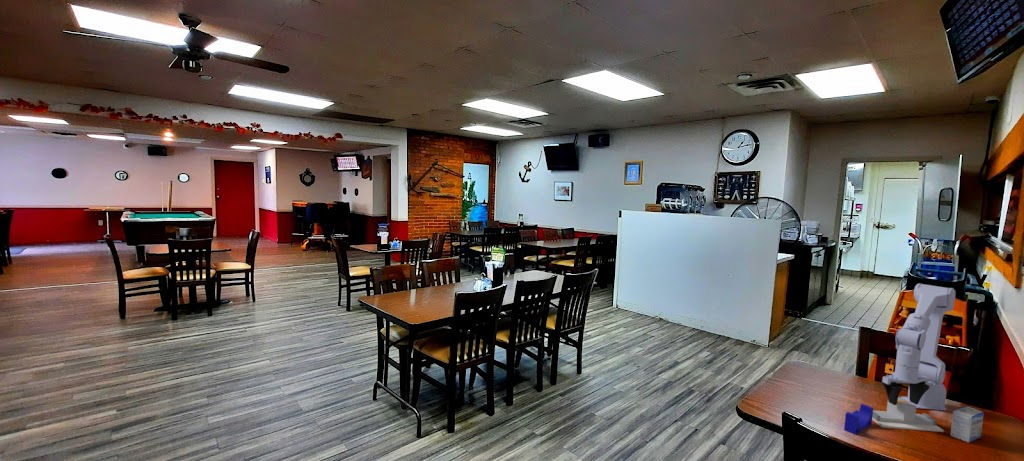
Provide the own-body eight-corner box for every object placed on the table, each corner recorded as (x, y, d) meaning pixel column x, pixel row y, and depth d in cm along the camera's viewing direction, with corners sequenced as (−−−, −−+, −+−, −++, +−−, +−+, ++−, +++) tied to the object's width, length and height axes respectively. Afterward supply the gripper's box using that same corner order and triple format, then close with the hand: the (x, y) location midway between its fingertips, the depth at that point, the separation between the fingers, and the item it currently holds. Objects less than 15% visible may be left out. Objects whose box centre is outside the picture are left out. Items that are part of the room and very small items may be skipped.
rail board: (918, 415, 148) (919, 409, 148) (943, 432, 138) (944, 425, 138) (861, 411, 150) (862, 404, 150) (882, 427, 140) (882, 420, 140)
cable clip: (855, 418, 146) (857, 401, 145) (871, 425, 142) (873, 408, 141) (838, 428, 140) (840, 410, 139) (854, 435, 136) (856, 417, 135)
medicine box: (968, 443, 132) (972, 417, 131) (949, 435, 136) (952, 410, 135) (981, 437, 135) (984, 411, 134) (961, 430, 139) (965, 405, 138)
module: (897, 410, 147) (899, 396, 147) (914, 420, 141) (916, 405, 141) (886, 411, 147) (888, 397, 147) (903, 420, 141) (904, 406, 141)
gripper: (915, 359, 146) (911, 396, 148) (875, 360, 146) (872, 397, 147) (937, 368, 139) (932, 407, 141) (895, 369, 139) (891, 408, 140)
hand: (903, 403), depth 143 cm, fingers open, 7 cm apart
